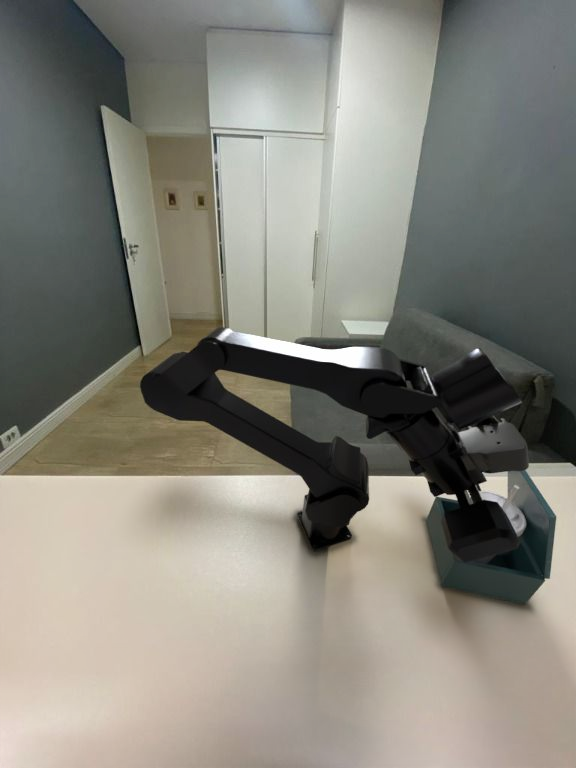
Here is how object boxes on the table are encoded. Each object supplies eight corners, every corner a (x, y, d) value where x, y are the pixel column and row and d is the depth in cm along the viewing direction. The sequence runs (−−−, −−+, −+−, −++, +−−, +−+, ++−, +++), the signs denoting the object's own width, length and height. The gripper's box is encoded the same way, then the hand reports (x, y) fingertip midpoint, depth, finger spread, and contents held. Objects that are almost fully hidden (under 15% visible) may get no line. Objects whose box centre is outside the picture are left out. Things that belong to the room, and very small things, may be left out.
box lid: (549, 516, 32) (556, 516, 32) (507, 451, 41) (512, 451, 40) (544, 579, 36) (550, 579, 36) (507, 508, 45) (511, 507, 45)
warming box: (440, 586, 40) (454, 561, 38) (425, 520, 49) (435, 496, 46) (525, 605, 39) (545, 580, 36) (493, 533, 48) (508, 509, 45)
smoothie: (504, 583, 41) (555, 513, 34) (453, 572, 42) (492, 502, 35) (487, 539, 46) (528, 472, 39) (442, 530, 47) (474, 462, 40)
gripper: (542, 470, 25) (617, 577, 29) (467, 369, 41) (522, 447, 45) (414, 515, 30) (493, 602, 33) (393, 409, 46) (448, 476, 50)
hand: (490, 519), depth 40 cm, fingers open, 9 cm apart
